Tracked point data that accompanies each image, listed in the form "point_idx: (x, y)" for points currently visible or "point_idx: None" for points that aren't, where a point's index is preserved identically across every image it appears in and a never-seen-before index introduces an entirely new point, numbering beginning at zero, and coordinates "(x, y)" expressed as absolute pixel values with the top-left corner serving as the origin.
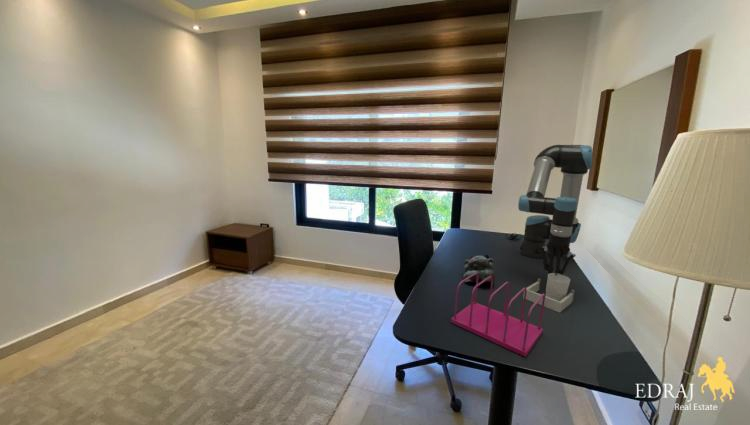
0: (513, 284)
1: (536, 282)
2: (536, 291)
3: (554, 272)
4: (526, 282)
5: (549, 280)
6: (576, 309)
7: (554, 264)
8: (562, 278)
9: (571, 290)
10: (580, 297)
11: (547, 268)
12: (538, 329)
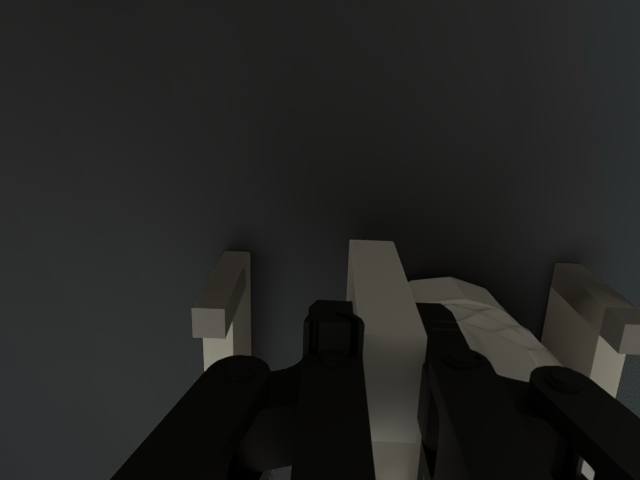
0: (20, 330)
1: (210, 356)
2: (250, 323)
3: (384, 347)
4: (63, 164)
5: None
6: (628, 383)
7: (371, 457)
8: None
9: (621, 351)
10: (637, 68)
11: (268, 461)
12: None
